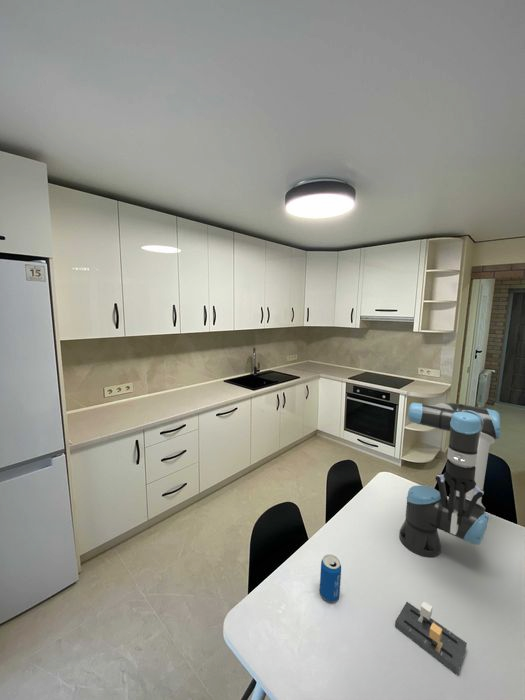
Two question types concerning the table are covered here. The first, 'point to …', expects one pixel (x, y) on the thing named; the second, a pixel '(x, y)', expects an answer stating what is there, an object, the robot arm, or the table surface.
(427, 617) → the fader
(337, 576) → the beverage can
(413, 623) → the console
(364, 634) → the table surface
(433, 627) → the fader
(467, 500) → the robot arm
